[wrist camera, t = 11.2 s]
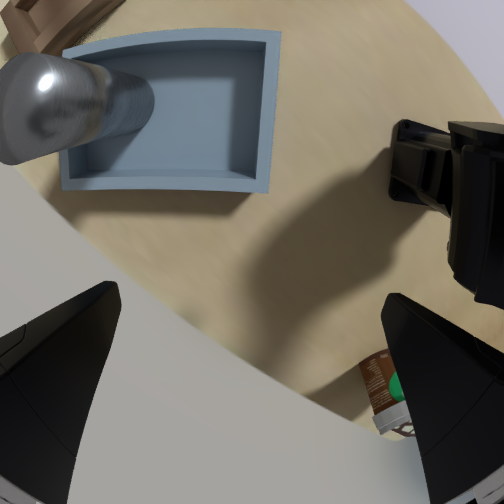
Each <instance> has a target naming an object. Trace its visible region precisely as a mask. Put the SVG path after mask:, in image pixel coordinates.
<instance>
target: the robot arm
mask: <svg viewBox="0 0 504 504" xmlns="http://www.w3.org/2000/svg"><path fill="white" fill-rule="evenodd" d="M405 123H406V124H407V128H405V127H404V124H405ZM448 129H449V130H450V133H447V132H444V131H442V130H439V129H436V128H433V127H430V126H427V125H424V124H421V123H417V122H414V121H411V120H407V119H402V120H401V121H400V122H399V129H398V137H397V142H396V143H395V148H394V155H393V161H392V168H391V175H392V176H391V182H390V187H389V197H390V198H391V199H393V200H395V201H401V202H408V203H414V204H420V205H426V206H431V207H432V208H434V209H436V210H437V211H439V212H441V213H442V214H444V215H445V216H447V217H448V218H450V219H451V222H450V235H449V242H448V243H447V251H448V263H449V265H450V267H451V269H452V271H453V272H454V275H453V277H454V279H455V280H456V281H457V282H458V283H459V284H460V285H462V286H463V287H464V288H466V289H467V290H469V291H470V292H472V293H473V294H474V295H475V297H474V301H475V302H478V303H483V304H489V305H493V306H495V307H498V308H500V309H503V310H504V125H502V124H496V123H486V122H460V121H448ZM395 191H396V195H395V196H393V194H394V192H395ZM120 312H121V298H120V294H119V289H118V285H117V283H116V282H114V281H103V282H101V283H99V284H97V285H96V286H94V287H92V288H90V289H88V290H86V291H84V292H82V293H80V294H78V295H77V296H75V297H73V298H71V299H69V300H67V301H65V302H64V303H62V304H60V305H58V306H56V307H55V308H53V309H51V310H49V311H47V312H45V313H44V314H42V315H40V316H38V317H37V318H35V319H33V320H31V321H29V322H28V323H27V324H24V325H22V326H21V327H19V328H17V329H15V330H13V331H12V332H10V333H8V334H6V335H4V336H2V337H1V338H0V504H36V501H38V502H40V503H42V504H67V499H68V494H69V489H70V484H71V479H72V475H73V470H74V465H75V462H76V458H75V457H77V453H78V449H79V445H80V441H81V437H82V434H83V430H84V427H85V423H86V420H87V416H88V413H89V410H90V407H91V403H92V400H93V397H94V394H95V391H96V388H97V385H98V382H99V379H100V376H101V373H102V370H103V368H104V365H105V362H106V359H107V357H108V354H109V351H110V348H111V345H112V342H113V338H114V334H115V330H116V326H117V322H118V319H119V315H120ZM381 321H382V325H383V328H384V332H385V336H386V340H387V344H388V348H389V352H390V355H391V358H392V361H393V364H394V367H395V370H396V373H397V376H398V379H399V382H400V385H401V388H402V391H403V394H404V398H405V401H406V404H407V407H408V411H409V414H410V418H411V421H412V425H413V428H414V432H415V436H416V439H417V443H418V447H419V451H420V455H421V460H422V464H423V469H424V473H425V478H426V483H427V488H428V493H429V498H430V504H446V503H448V502H450V501H452V500H454V499H456V498H458V497H460V496H462V495H463V494H465V493H467V492H469V491H470V490H473V493H474V495H475V498H474V499H473V500H471V501H469V502H468V503H466V504H504V353H502V352H500V351H499V350H497V349H495V348H493V347H492V346H490V345H488V344H486V343H485V342H483V341H481V340H480V339H478V338H476V337H474V336H473V335H471V334H470V333H468V332H466V331H465V330H463V329H461V328H460V327H458V326H456V325H455V324H453V323H451V322H450V321H448V320H446V319H444V318H443V317H441V316H439V315H438V314H436V313H434V312H432V311H431V310H429V309H427V308H425V307H424V306H422V305H420V304H419V303H417V302H415V301H413V300H411V299H410V298H408V297H406V296H404V295H403V294H401V293H390V294H388V296H387V298H386V301H385V303H384V306H383V309H382V312H381Z"/></svg>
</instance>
